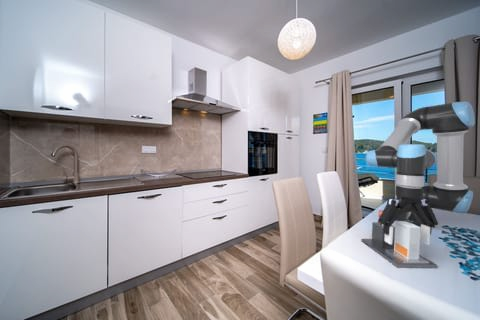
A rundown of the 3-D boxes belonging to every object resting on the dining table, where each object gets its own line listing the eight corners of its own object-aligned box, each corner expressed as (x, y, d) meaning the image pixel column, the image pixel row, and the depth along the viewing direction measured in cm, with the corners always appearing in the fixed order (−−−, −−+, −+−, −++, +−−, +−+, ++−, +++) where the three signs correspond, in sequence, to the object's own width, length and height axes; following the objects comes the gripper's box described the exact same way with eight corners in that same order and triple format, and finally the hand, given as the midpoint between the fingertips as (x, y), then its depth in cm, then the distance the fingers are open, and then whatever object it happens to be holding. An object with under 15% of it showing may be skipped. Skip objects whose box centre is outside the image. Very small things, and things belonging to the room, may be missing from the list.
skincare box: (393, 250, 71) (394, 220, 71) (403, 250, 71) (405, 220, 71) (408, 260, 65) (409, 227, 65) (419, 259, 65) (421, 227, 65)
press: (392, 241, 83) (393, 221, 83) (437, 268, 64) (438, 242, 64) (361, 241, 83) (362, 221, 83) (397, 267, 64) (398, 242, 64)
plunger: (385, 233, 81) (386, 210, 80) (393, 238, 77) (394, 213, 76) (375, 233, 81) (376, 210, 80) (382, 238, 77) (384, 213, 76)
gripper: (432, 184, 71) (429, 238, 72) (368, 184, 71) (366, 237, 72) (455, 188, 63) (451, 248, 64) (383, 188, 63) (380, 247, 64)
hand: (406, 242), depth 68 cm, fingers open, 13 cm apart
